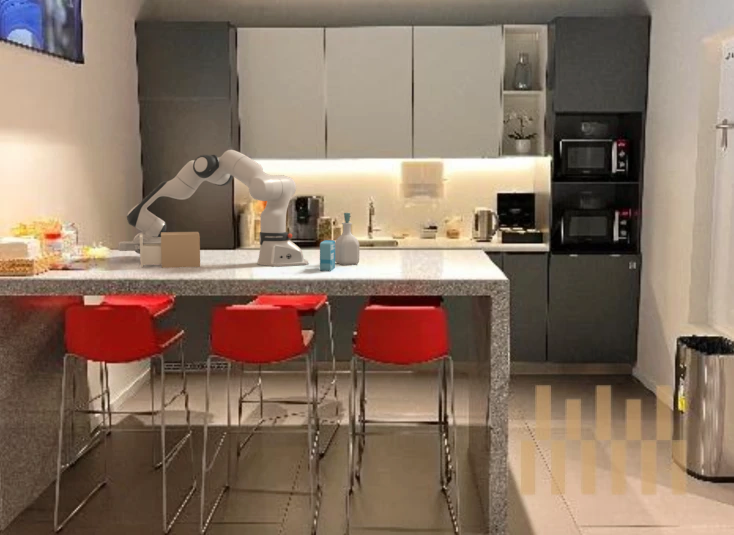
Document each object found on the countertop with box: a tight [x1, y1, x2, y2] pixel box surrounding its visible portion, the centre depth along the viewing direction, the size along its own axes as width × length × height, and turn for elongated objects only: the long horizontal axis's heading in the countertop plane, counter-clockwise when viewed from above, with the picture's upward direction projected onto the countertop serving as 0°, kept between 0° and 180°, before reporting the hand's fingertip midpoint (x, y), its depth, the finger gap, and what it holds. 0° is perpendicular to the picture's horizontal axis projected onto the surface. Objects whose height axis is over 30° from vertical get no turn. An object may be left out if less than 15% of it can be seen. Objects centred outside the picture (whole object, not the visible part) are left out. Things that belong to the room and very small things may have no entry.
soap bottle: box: [335, 212, 360, 266], centre depth 361 cm, size 10×10×23 cm
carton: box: [161, 231, 201, 269], centre depth 352 cm, size 16×12×14 cm
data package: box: [319, 239, 336, 272], centre depth 344 cm, size 12×4×12 cm, turn 173°
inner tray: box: [139, 234, 162, 268], centre depth 352 cm, size 16×17×13 cm
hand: (141, 247), depth 356 cm, fingers closed on inner tray
